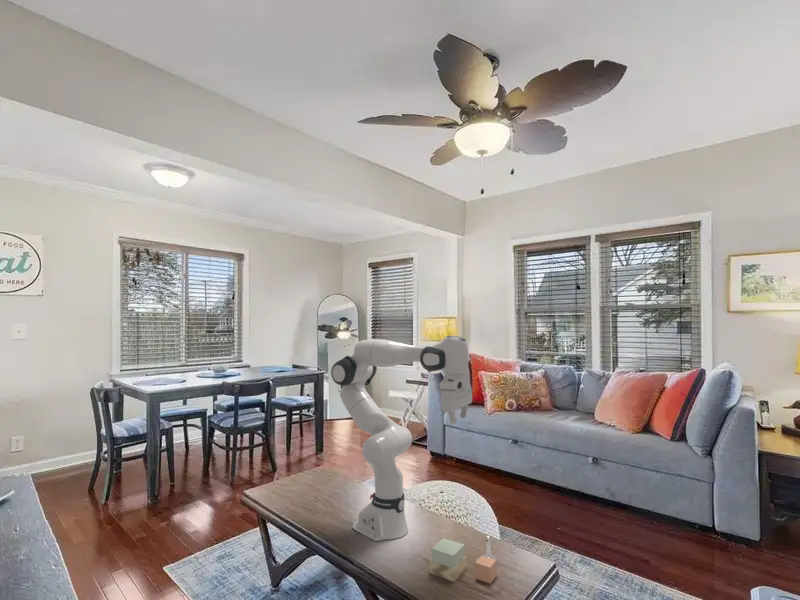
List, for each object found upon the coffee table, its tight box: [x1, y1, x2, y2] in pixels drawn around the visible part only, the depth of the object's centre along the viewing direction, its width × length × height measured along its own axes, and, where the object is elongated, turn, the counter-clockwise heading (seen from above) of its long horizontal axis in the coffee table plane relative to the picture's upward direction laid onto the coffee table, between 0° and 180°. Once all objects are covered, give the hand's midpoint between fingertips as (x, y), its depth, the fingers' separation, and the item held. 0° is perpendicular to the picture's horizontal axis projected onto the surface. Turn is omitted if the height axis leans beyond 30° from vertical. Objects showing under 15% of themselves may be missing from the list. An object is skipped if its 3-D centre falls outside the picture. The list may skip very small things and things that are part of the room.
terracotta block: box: [474, 555, 498, 585], centre depth 139 cm, size 5×5×5 cm
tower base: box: [428, 555, 468, 582], centre depth 144 cm, size 9×9×4 cm
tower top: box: [431, 538, 466, 569], centre depth 144 cm, size 8×8×4 cm
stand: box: [475, 535, 497, 563], centre depth 149 cm, size 8×5×8 cm
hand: (458, 420), depth 155 cm, fingers open, 8 cm apart
